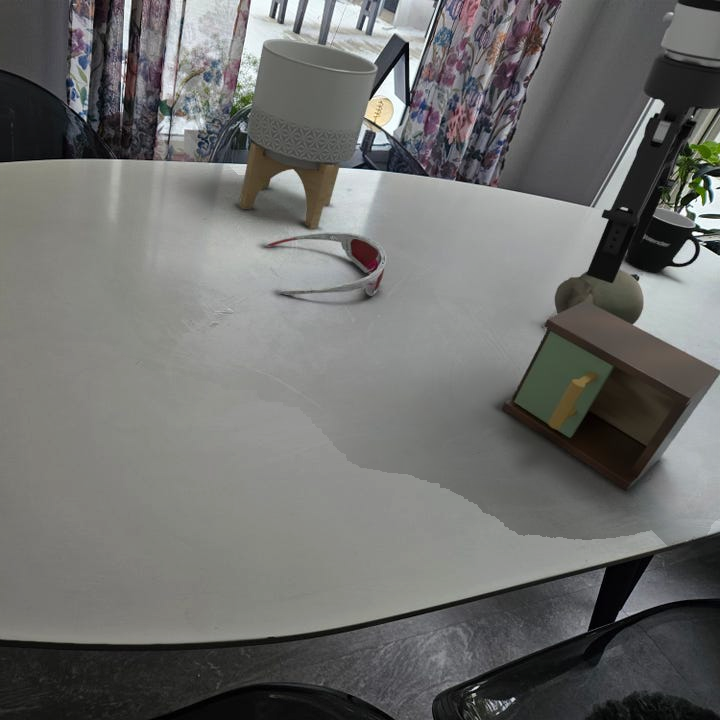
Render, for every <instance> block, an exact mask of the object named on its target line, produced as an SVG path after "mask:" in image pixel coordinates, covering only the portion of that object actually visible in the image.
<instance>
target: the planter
mask: <svg viewBox="0 0 720 720" xmlns="http://www.w3.org/2000/svg"><path fill="white" fill-rule="evenodd" d="M378 69H379V67H378V66H377V65H376V64H375V63H374V62H373V61H371V60H369V59H367V58H365V57H363V56H361V55H359V54H355V53H352V52H350V51H346V50H343V49H340V48H336V47H334V46H328V45H325V44H320V43H315V42H310V41H305V40H296V39H288V38H271V39H266V40H264V41H263V43H262V49H261V53H260V57H259V64H258V69H257V74H256V79H255V85H254V90H253V96H252V101H251V106H250V112H249V116H248V122H247V126H246V134H247V137H248V138H250V140H252V141H253V142H251V143H250V147H249V153H248V157H247V161H246V162H247V163H246V168H245V173H244V178H243V183H242V188H241V195H240V198H239V205H238V206H239V207H240V208H241V209H242V210H252V209H253V206H254V203H255V202H256V198H257V196H258V194H259V193H260V191H261V190H262V189H269V185H270V183H271V180H272V179H273V178H274V177H276V176H277V175H278V174H281V173H283V172H286V171H290V170H293V171H294V172H295V173H296V174H297V176H298V177H299V179H300V181H301V183H302V186H303V189H304V194H305V200H306V202H305V203H306V214H305V221H304V225H305V226H306V227H308V228H309V229H311V230H313V229H318V228H319V225H320V220H321V216H322V213H323V209H324V207H325V206H330V203H331V200H332V196H333V193H334V189H335V184H336V181H337V178H338V175H339V171H340V168H341V163H342V162H347V161H349V160H351V159H353V157H354V155H355V152H356V148H357V145H358V142H359V138H360V135H361V130H362V128H363V123H364V119H365V116H366V113H367V109H368V106H369V103H370V98H371V94H372V91H373V88H374V84H375V81H376V77H377V73H378Z"/></svg>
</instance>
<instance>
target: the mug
mask: <svg viewBox="0 0 720 720" xmlns="http://www.w3.org/2000/svg"><path fill="white" fill-rule="evenodd" d="M696 225H697V224H696V222H694V221H693V220H692V219H691V218H689V217H688V216H685V215H683V214H681V213H679V212H676V211H673V210H671V209H667V208H663V207H658V206H657V208H656V210H655V213H654V215H653V217H652V219H651V222H650V224H649V226H648V228H647V231H646V233H645V235H644V238H643V240H642V242H641V243H640V244H638V243H635V242H632V241H631V243H630V245H629V248H628V250H627V252H626V260H627V262H628V263H629V264H630V265H632V266H634V267H635V268H637V269H640V270H642V271H645V272H648V273H661V271H663V270H664V269H666V268H668V267H671V268H685V267H688V266H691V265H692V264H693V263H694V262H696V260H697V259H698V257H699V256H700V253H701V245H700V242H699V240H698V239H697V237H695V235H694V234H693V233H694V231H695V228H696ZM687 241H690V242H692V243H693V245H694V254H693V256H692V257H691V259H689V260H688V261H685V262H682V263H681V262H680V263H679V262H678V263H676V262H674V259H675V258H676V256H677V255H678V254H679V252H680V251H681V249H682V248H683V247H684V245H685V244H686V243H687Z"/></svg>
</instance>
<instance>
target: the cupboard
mask: <svg viewBox="0 0 720 720" xmlns="http://www.w3.org/2000/svg"><path fill="white" fill-rule="evenodd" d="M543 327H544V328H546V329H547V330H546V331H545V333H544V335H543V337H542V339H541V342H540V343H539V345H538V347H537V349H536V351H535V353H534V355H533V357H532V359H531V360H530V362H529V365H528V366H527V368H526V370H525V372H524V374H523V376H522V378H521V379H520V382H519V384H518V385H517V388H516V390H515V391H514V394H513V396H512V397H511V398H510V399H507V400H506V401H505V402H504V403H503V405H502V407H501V409H502V410H504V411H505V412H506V413H508V414H510V415H511V416H513V417H514V418H516V419H517V420H519V421H520V422H522V423H523V424H525V425H526V426H528V427H529V428H531V429H532V430H534V431H536V432H537V433H538V434H540V435H541V436H543V437H544V438H546V439H548V440H549V441H551V442H552V443H554V444H555V445H556V446H558V447H560V448H561V449H563V450H565V451H566V452H567V453H568V454H571V456H573V457H575V458H576V459H578V461H579V460H580V461H581V462H582V463H584V464H585V465H587V466H588V467H590V468H592V469H593V470H595V471H596V472H597V473H599V474H600V475H602V476H604V477H605V478H607V479H608V480H609V481H611V482H613V483H614V484H615V485H617V486H619V487H621V489H623V490H625V491H628V490H629V489H630V488H631V487H632V486H633V485H634V484H635V483H636V482H637V481H639V479H640V478H641V477H642V476H643V475H645V473H647V472H648V471H649V470H650V469H651V468H652V467H653V466H654V465H655V464H656V463H657V462H658V461H659V460H661V458H662V456H663V455H664V454H665V452H666V451H667V450H668V448H669V447H670V445H671V444H672V442H673V441H674V440H675V438H676V437H677V435H678V434H679V433H680V431H681V430H682V429H683V427H684V426H685V424H686V423H687V421H688V420H689V419H690V417H691V416H692V415H693V413H694V411H695V410H696V409H697V408H698V406H699V404H700V403H701V402H702V400H703V399H704V397H705V396H706V395H707V393H708V392H709V390H710V389H711V387H712V386H713V385H714V383H715V381H716V380H717V379H718V377H719V376H720V369H718V368H717V367H714V366H713V365H710V364H709V363H707V362H705V361H703V360H701V359H699V358H697V357H696V356H694V355H691V354H689V353H688V352H686V351H684V350H682V349H680V348H678V347H677V346H674V345H673V344H670V343H668V342H666V341H665V340H663V339H660V338H659V337H657V336H655V335H653V334H652V333H649V332H647V331H645V330H643V329H641V328H639V327H637V326H636V325H634V324H633V325H632V324H630V323H628V322H626V321H624V320H622V319H620V318H618V317H617V316H615V315H613V314H611V313H609V312H607V311H605V310H603V309H601V308H599V307H597V306H595V305H593V304H592V303H590V302H588V301H584V302H582V303H580V304H578V305H576V306H574V307H571V308H569V309H567V310H565V311H563V312H561V313H559V314H555V315H553V316H550V317H549V318H547V319H546V321H545V323H544V325H543ZM550 331H553V332H555V333H557V334H559V335H560V336H562V337H564V338H566V339H567V340H569V341H571V342H573V343H575V344H576V345H578V346H580V347H582V348H583V349H585V350H587V351H589V352H591V353H592V354H594V355H596V356H598V357H599V358H601V359H603V360H605V361H607V362H608V363H610V364H612V365H614V366H615V367H614V368H613V370H612V372H611V373H610V375H609V377H608V378H607V380H606V382H605V383H604V385H603V387H602V388H601V390H600V392H599V393H598V395H597V397H596V398H595V400H594V402H593V403H592V405H591V407H590V408H589V410H588V412H587V413H586V415H585V417H584V418H583V420H582V422H581V423H580V425H579V427H578V428H577V430H576V432H575V433H574V435H573V436H572V437H571V438H569V437H567V436H566V435H564V434H563V433H561V432H560V431H558V430H556V429H553V428H552V427H550V426H549V424H547V423H546V422H544V421H543V420H541V419H539V418H538V417H536V416H535V415H533V414H532V413H530V412H529V411H527V410H526V409H524V408H522V407H521V406H519V405H518V404H516V403H515V402H514V401H515V399H516V397H517V395H518V393H519V391H520V389H521V387H522V385H523V384H524V382H525V380H526V378H527V376H528V374H529V372H530V370H531V368H532V366H533V364H534V362H535V360H536V358H537V356H538V355H539V353H540V351H541V349H542V347H543V345H544V343H545V341H546V339H547V337H548V335H549V333H550Z"/></svg>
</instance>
